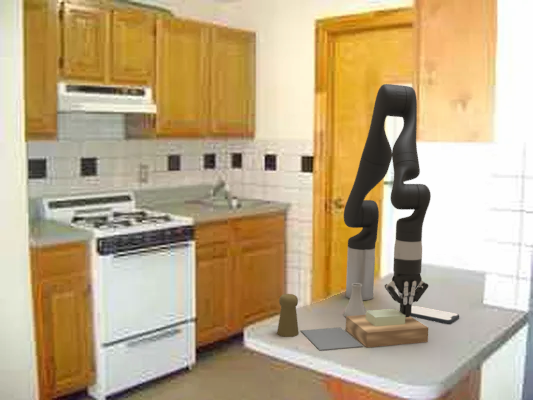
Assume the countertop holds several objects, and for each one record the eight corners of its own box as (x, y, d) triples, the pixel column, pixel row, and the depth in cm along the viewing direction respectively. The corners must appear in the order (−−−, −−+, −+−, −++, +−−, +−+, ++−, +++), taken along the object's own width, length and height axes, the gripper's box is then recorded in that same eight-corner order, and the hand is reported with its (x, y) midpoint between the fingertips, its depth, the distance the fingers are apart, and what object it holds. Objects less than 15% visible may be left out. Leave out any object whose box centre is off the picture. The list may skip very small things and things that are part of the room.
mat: (300, 331, 166) (300, 330, 166) (340, 328, 170) (340, 327, 170) (319, 350, 152) (319, 349, 152) (362, 347, 155) (362, 345, 155)
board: (345, 329, 169) (346, 316, 168) (402, 325, 173) (403, 311, 173) (366, 347, 155) (367, 332, 155) (427, 341, 160) (428, 327, 160)
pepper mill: (291, 338, 161) (292, 299, 159) (273, 334, 164) (273, 295, 163) (302, 332, 166) (303, 294, 165) (283, 328, 169) (284, 290, 168)
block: (365, 319, 166) (366, 310, 165) (394, 317, 168) (395, 308, 168) (374, 326, 160) (375, 317, 159) (405, 324, 162) (405, 315, 162)
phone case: (399, 316, 184) (449, 326, 174) (399, 310, 184) (450, 320, 174) (411, 309, 191) (460, 319, 181) (411, 304, 191) (460, 313, 181)
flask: (369, 314, 183) (370, 282, 182) (365, 321, 177) (366, 288, 175) (346, 311, 186) (347, 280, 185) (341, 318, 179) (342, 286, 178)
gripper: (421, 252, 168) (419, 310, 171) (379, 254, 165) (377, 314, 167) (436, 257, 161) (433, 319, 163) (392, 259, 158) (390, 322, 160)
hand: (405, 316), depth 165 cm, fingers closed
